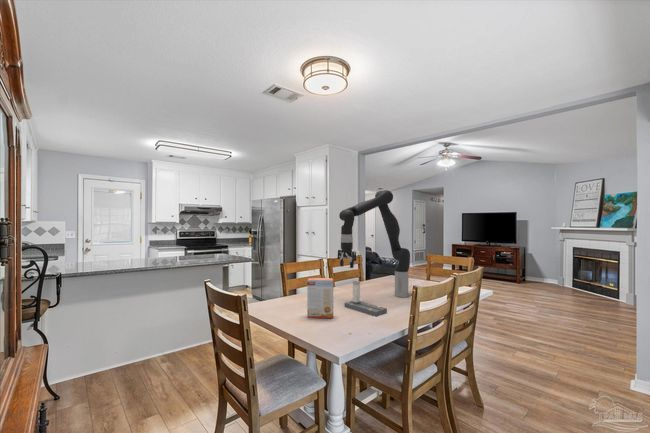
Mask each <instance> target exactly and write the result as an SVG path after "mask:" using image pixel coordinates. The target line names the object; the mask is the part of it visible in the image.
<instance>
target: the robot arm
mask: <svg viewBox="0 0 650 433" xmlns="http://www.w3.org/2000/svg"><path fill="white" fill-rule="evenodd" d="M393 200H394V195H393V192H392V191H391V190H387V189H385V190H378V191H377V192H375V196H374V197H373V198H371V199H368V200H365V201H361V202H359V203H357V204H355V205H354V206H352V207H348V208H345V209H343V210H341V211H340V212H339V215H338V218H339V219H340V220H341V221H343V225H342V226H341V227H340V228H341V230H340V231H341V232H340V249H338V250H337V260H339V266H340V267H342V268H343V267H344V263H345V262H344V260H345V258H347V259H348V260H349V269H353V268H354V266H355V265H354V264H355V263H354V262H356V261H357V251H353V248H354V247H353V245H354V243H353V242H354V241H353V240H354V236H353V226H354V222H355V217H359V216H362V215H363V214H365V213H367V212H369V211H371V210H373V209H375V208H378V209H379V211H380V215H381V218H382V220H383V221H382V222H383V224H384V229H385V231H386V234H387V237H388V240H389V241H388V242H389V244H390V250H391V255H392V257H393V259H394V261H397V262H398V265H396V266H395V267H394V296H395V297H397V298H408V297H409V270H410V266H411V253H410V250H409V249H408V248H404V247H401V244H400V241H399V237H400V234H401V233H400V232H401V228H400V225H399V221H398V219H397V218H396V215H395V214H394V213H393V212H392V211H391V210H390V207H389V204H390V203H391V202H392V201H393Z"/></svg>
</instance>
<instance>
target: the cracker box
mask: <svg viewBox="0 0 650 433" xmlns="http://www.w3.org/2000/svg"><path fill="white" fill-rule="evenodd" d="M306 290H307V293H306V294H307V295H306V296H307V304H306V305H307V308H306V309H307V310H306V311H307V318H308V319H309V318H313V319H314V318H315V319H317V318H318V319H334V318H333V317H334V277H333V278H332V277H331V278H330V277H329V278H328V277H308V279H307V287H306Z"/></svg>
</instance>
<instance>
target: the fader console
mask: <svg viewBox="0 0 650 433" xmlns="http://www.w3.org/2000/svg"><path fill="white" fill-rule="evenodd" d="M352 301H353V300H351V301H347V302H344V308H346V309H350V310H353V311H357V312H360V313H363V314H366V315H370V316H373V317H378V316H381V315H385V314H387V313H388V308H387V307H383V306H380V305H376V304H373V303H368V302H365V301H362V300H360V301H361V303H358V304H356V303H352Z"/></svg>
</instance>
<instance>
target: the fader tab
mask: <svg viewBox="0 0 650 433" xmlns="http://www.w3.org/2000/svg"><path fill="white" fill-rule="evenodd" d="M360 295H361V281H358V280H354V281H352V300H351V301H352V303H356V304H358V303H361V301H362V300H361V296H360Z"/></svg>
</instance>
